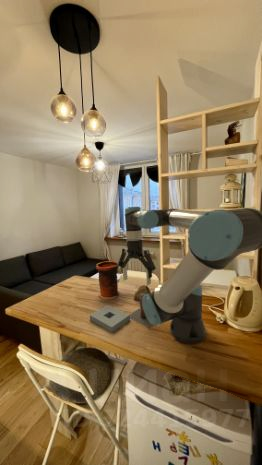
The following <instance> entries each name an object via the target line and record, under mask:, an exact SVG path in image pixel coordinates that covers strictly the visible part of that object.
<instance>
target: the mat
mask: <svg viewBox="0 0 262 465" xmlns="http://www.w3.org/2000/svg"><path fill="white" fill-rule="evenodd" d="M129 315H130V320H132V321H134V322H137V323H139V324H141V325H143V326H145V327H147V328H150V327H152V326H153V325H152V324H151V323H150V322H149V321H148V319H147V318H145V319H142V318H141V314H140V308H138V309H136V310H135V311H133V312H131V313H129Z"/></svg>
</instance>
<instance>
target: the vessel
mask: <svg viewBox="0 0 262 465" xmlns="http://www.w3.org/2000/svg"><path fill="white" fill-rule="evenodd" d="M118 263H119V262H116V261H112V260H108V261H107V260H106V261H101V262H99V263H97V264H96V265H95V269H96V271H97V273H98V284H99V285H98V286H99V291H100V293H99V294H98V296H99V297H100V298H101V299H105V300H106V299H107V300H109V299H114V298H116V297H117V296H119V295H120V292H119V288H118V285H119V284H118V283H119V282H118V273H119V271H118V269H119V267H120V266H118Z"/></svg>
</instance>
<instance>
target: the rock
mask: <svg viewBox="0 0 262 465" xmlns="http://www.w3.org/2000/svg"><path fill="white" fill-rule="evenodd" d="M141 293H144V294H150V293H152V292H151V290H150V288H149V287H148V285H146V284H143V285H140V286H139V288H138V289H137V291H135V292H134V296H133V300H134V301H140V294H141Z"/></svg>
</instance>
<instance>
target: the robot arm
mask: <svg viewBox="0 0 262 465" xmlns="http://www.w3.org/2000/svg"><path fill="white" fill-rule="evenodd" d="M124 219H125V238H126V247H124V248H122V250H121V254H120V257H119V260H118V262H117V263H118V266H119V267H120V269H121V274H122V281H123V282H124V281H127V280H128V267H127V265H128V263H129V262H130V261H131V259H135V260H138V261H140V262H141V264H142V265H143V267H144V268H145V269H146V270H147V271H146V272H145V275H146V278H145V279H146V286H149V285H151V283H152V280H151V279H152V277H153V271H155V270H156V269H157V268H156V266H155V264H154V261H153V259H152V257H151V255H150V250H149V249H143V246H144V245H143V230H142V229H145V230H148V229H149V230H151V229H154V228H158V227H173V228H177V229H178V228H179V229H184V230H187V233H188V234H189V236H188V237H187V241H188V245H187V246H188V251H187V253H186V254H185V256H183V258H182V259H181V260H180V262H179V263H178V265H177V266H176V267H175V269H174V270H173V271H172V272H171V274H170V275H169V277H168V278H167V279H166V280H165V282H164V283H160V284H158V285H157V286H156V287H155V288H154V289H153V291H152V292H151V293H150V294H146V295H144V296H143V298H142V306H143V310H144V313H145V315H146V317H147V319H148V321H149V322H150V323H151V324H152V326H158V325H162V324H164V323H166V322H169V321H171V322H170V325H169V331H170V334H171V336H172V337H173V338H174V339H175V341H178V342H180V343H183V344H188V345H197V344H199V343H202V342H203V341H205V339H206V337H207V329H206V326H205V323H204V320H203V315H202V314H203V288H202V286H201V284H202V282H204V280H205V279H206V278H208V276H210V275H211V273H212V272H213V271H215V270H216V271H220V270H223V269H225V268H226V267H227V266H229V265H230V264H231V263H232V262H233V261H234V260H235V259H236V258H237V257H238V256H239V255H241V254H245V253H249V252H253V251H254V252H255V251H257V250H260V249H261V248H262V211H261V210H259V209H257V208H251V207H247V208H246V207H245V208H244V207H243V208H233V209H213V210H210V211H204V210H192V209H191V210H188V209H178V208H168V209H167V208H165V209H151V210H149V209H148V210H142V209H141V206H127V207H125V208H124ZM127 254H128V255H127Z"/></svg>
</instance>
